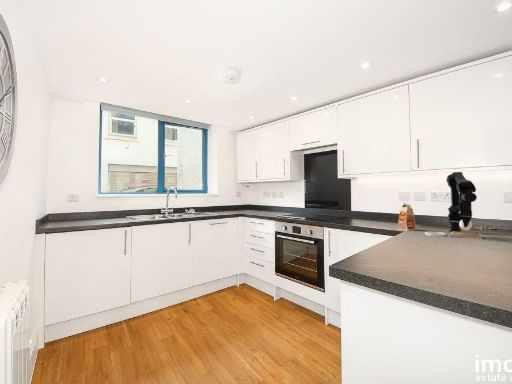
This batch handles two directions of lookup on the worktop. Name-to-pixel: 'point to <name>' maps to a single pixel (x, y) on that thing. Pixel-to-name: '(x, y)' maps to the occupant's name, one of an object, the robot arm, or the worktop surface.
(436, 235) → the white faceted hoop
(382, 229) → the worktop surface
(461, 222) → the egg
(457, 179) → the robot arm
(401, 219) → the milk carton
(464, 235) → the tray
